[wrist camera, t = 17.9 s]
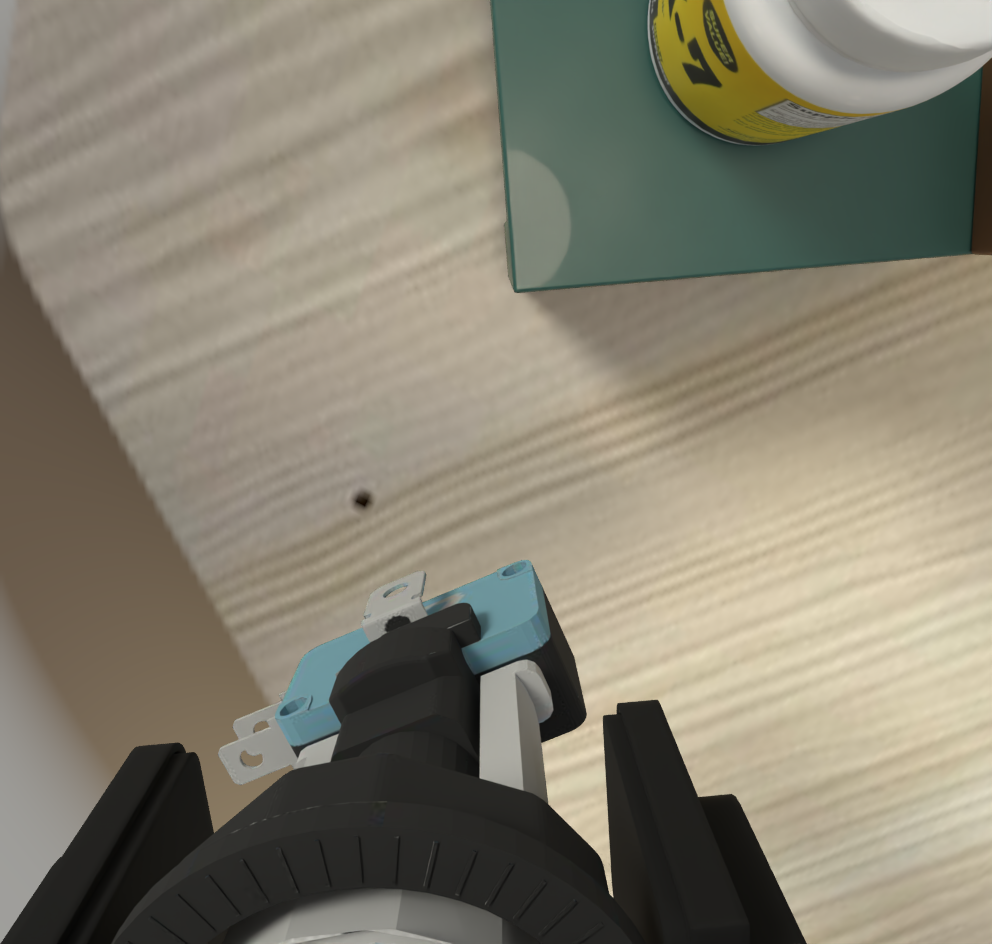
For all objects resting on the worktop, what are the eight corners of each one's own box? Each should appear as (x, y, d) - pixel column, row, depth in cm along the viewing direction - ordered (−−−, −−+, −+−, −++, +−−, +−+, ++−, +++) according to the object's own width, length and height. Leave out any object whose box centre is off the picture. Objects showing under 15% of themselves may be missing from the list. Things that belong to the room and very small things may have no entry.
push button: (309, 829, 17) (85, 1562, 8) (180, 602, 16) (-281, 1133, 6) (617, 706, 17) (799, 1331, 7) (508, 462, 16) (547, 811, 6)
